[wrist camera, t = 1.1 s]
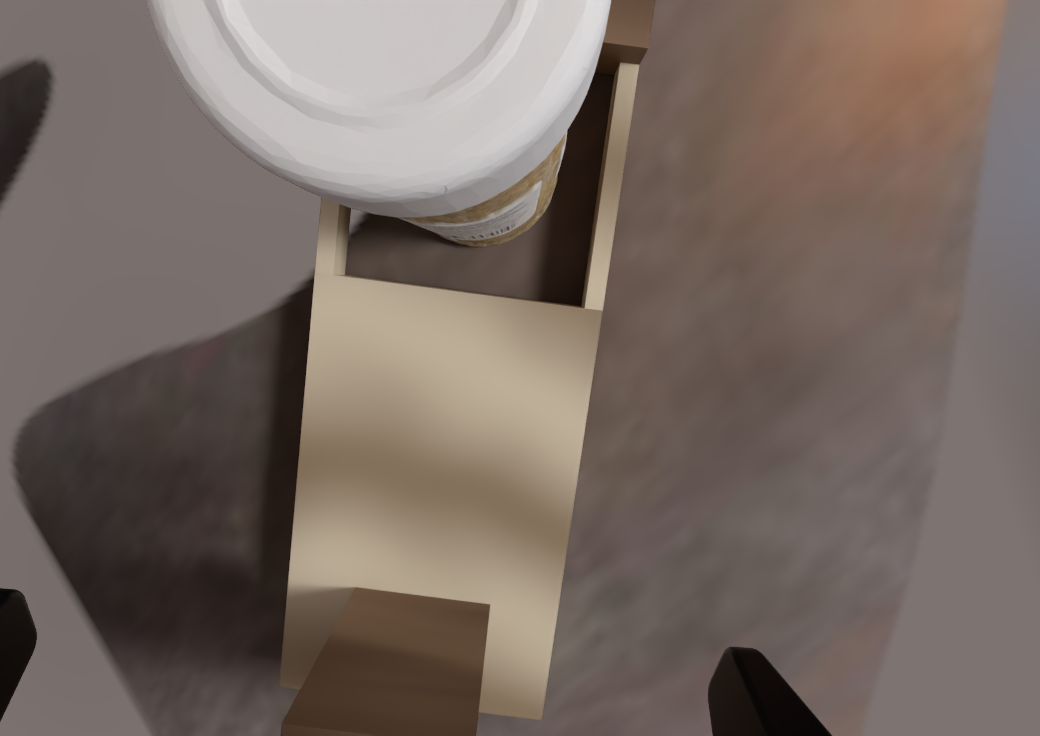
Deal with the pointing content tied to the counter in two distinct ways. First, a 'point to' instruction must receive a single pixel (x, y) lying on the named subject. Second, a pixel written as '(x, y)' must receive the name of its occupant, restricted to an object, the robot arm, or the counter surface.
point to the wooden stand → (441, 477)
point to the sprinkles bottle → (396, 99)
